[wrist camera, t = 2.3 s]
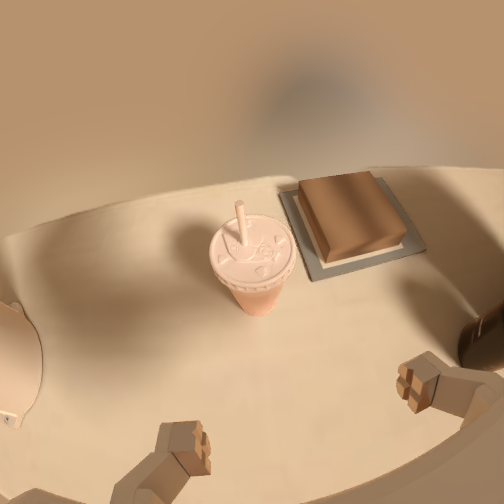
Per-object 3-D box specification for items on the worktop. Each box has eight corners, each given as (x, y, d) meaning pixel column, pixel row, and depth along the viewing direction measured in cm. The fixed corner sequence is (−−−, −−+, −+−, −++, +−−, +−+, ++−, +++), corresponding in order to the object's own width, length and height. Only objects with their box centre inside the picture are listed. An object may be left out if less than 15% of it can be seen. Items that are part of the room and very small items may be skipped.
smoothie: (245, 263, 30) (228, 161, 18) (299, 286, 28) (316, 187, 16) (215, 312, 27) (173, 227, 15) (272, 340, 25) (274, 269, 14)
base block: (325, 263, 29) (330, 248, 26) (297, 198, 34) (299, 181, 32) (398, 245, 30) (407, 230, 27) (364, 187, 35) (369, 171, 32)
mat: (312, 282, 28) (312, 280, 28) (279, 195, 35) (279, 192, 35) (425, 250, 29) (427, 248, 29) (381, 179, 36) (381, 177, 36)
